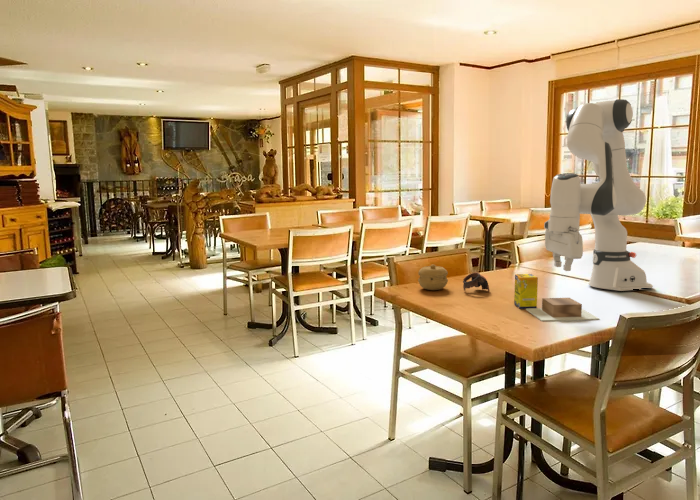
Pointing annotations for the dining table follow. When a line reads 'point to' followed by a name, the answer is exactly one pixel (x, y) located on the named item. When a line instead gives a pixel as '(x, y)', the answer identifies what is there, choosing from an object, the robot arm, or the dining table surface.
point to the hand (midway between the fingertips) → (562, 268)
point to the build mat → (546, 317)
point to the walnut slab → (561, 307)
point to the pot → (433, 277)
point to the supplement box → (525, 291)
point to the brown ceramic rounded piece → (475, 281)
